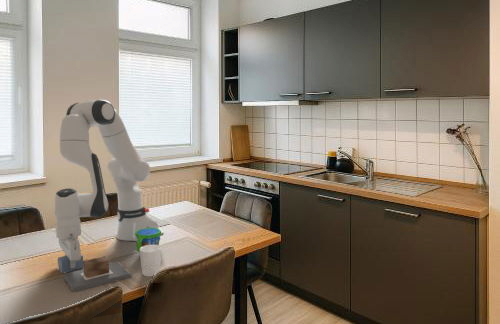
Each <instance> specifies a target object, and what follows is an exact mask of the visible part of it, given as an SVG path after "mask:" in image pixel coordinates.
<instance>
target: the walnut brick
mask: <svg viewBox="0 0 500 324" xmlns="http://www.w3.org/2000/svg"><path fill="white" fill-rule="evenodd" d="M109 263H110V260H109V259H108V257H106V256H101V257H96V258H91V259H87V260H83V268H82V270H84V275H85V276H86V277H87V278H90V277H94V276H98V275H102V274H106V273H109Z"/></svg>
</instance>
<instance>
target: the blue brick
mask: <svg viewBox="0 0 500 324" xmlns="http://www.w3.org/2000/svg"><path fill="white" fill-rule="evenodd" d="M83 261H84V255H83V254H81V259H80V260H79V261H76V263H75V265H76V267H75V268H70V260H69V258H68V257H67V256H65V255H64V256H63V255H62V256H60V257H57V266H58V267H57V268H58V271H59V272H60V273H61V274H65V273H70V272H74V271H78V270H79V269H80V270H82V269H83Z"/></svg>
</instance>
